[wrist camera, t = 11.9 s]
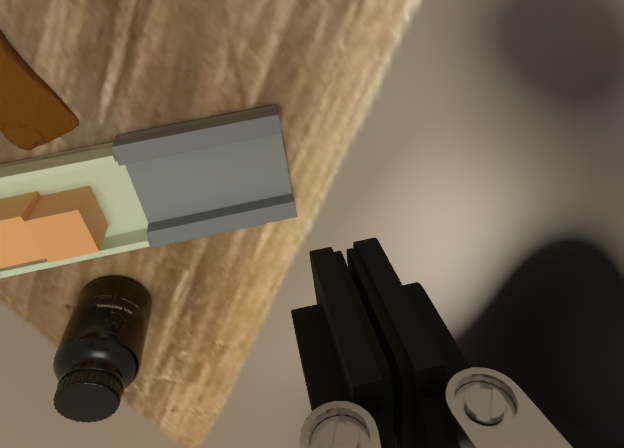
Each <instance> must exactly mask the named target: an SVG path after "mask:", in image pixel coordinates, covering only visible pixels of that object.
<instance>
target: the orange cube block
mask: <svg viewBox="0 0 624 448" xmlns="http://www.w3.org/2000/svg"><path fill="white" fill-rule="evenodd" d="M39 198H40V194H39V192H38V191H36V192H31V193H26V194H21V195H17V196H12V197H7V198H2V199H0V268H5V267H9V266H14V265H18V264H23V263H27V262H32V261H36V260H41V259H45V256H44V254H43V253H42V251H41V249H40V248H39V246H38V244H37V243H36V241H35V239H34V238H33V236H32V234H31V233H30V231H29V229H28V228H27V226H26V224H25V223H24V220H25V219H26V217H27V216H28V214H29V213H30V211H31V210H32V208H33V207H34V205H35V204H36V202H37V201H38V199H39Z"/></svg>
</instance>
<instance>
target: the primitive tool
mask: <svg viewBox="0 0 624 448" xmlns="http://www.w3.org/2000/svg"><path fill="white" fill-rule="evenodd" d="M78 125H79V121H78V119H77V118H76V117H75V115H74V114H73V113H72V111H71V110H70V109H69V108H68V107H67V106H66V105H65V103H64V102H63V101H62V99H61V98H60V97H59V96H58V95H57V94H56V93H55V92H54V91H53V90H52V89H51V88H50V87H49V86H48V85H47V84H46V83H45V82H44V81H43V80H42V79H41V78H40V77H39V76H38V75H37V74H36V73H35V72H34V71H33V70H32V69H31V68H30V67H29V66H28V65H27V64H26V63H25V62H24V61H23V60H22V59H21V58H20V56H19V55H18V54H17V53H16V52H15V50H14V49H13V48H12V47H11V46H10V45H9V44H8V42H7V41H6V39H5V38H4V36H3V35H2V34H0V130H1V131H2V132H3V134H4V136H5V137H6V138H7V139H8V140H9V141H10V142H12V143H14V144H15V145H17V146H18V147H19V148H21V149H24V150H31V149H33V148H35V147H36V146H40V145H43V144H46V143H48V142H50V141H51V140H53V139H56V138H58V137H60V136H62V135H64V134H66V133H68V132H70V131H71V130H73V129H74V128H76V127H77V126H78Z"/></svg>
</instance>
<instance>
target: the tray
mask: <svg viewBox="0 0 624 448" xmlns="http://www.w3.org/2000/svg"><path fill="white" fill-rule="evenodd" d="M113 143H114V142H111V143H106V144H101V145H95V146H90V147H85V148H80V149H75V150H70V151H65V152H59V153H54V154H49V155H44V156H39V157H34V158H29V159H23V160H18V161H13V162H8V163H3V164H0V199H2V198H7V197H12V196H17V195H21V194H26V193H31V192H36V191H38V192H39V194H40V196H42V195H47V194H52V193H57V192H61V191H66V190H71V189H76V188H80V187H85V186H90V187H91V189H92V191H93V193H94V195H95V197H96V199H97V202H98V204H99V206H100V208H101V210H102V212H103V214H104V216H105V218H106V220H107V223H108V225H109V226H108V229H107V232H106V234H105V237H104V240H103V243H102V246H101V248H100V251H99V252H96V253H91V254H87V255H82V256H78V257H73V258H69V259H64V260H59V261H55V262H50V263H48V261H47V259H46V258H45V259H41V260H36V261H32V262H27V263H23V264H18V265H14V266H9V267H5V268H0V278H4V277H8V276H13V275H18V274H22V273H27V272H32V271H36V270H41V269H46V268H50V267H55V266H60V265H64V264H69V263H74V262H78V261H83V260H88V259H92V258H97V257H102V256H106V255H111V254H116V253H121V252H125V251H130V250H135V249H139V248H144V247H149V246H150V240H149V238H148V235H147V233H146V232H147V228H148V221H147V219H146V216H145V214H144V211H143V209H142V206H141V204H140V201H139V199H138V196H137V194H136V191H135V189H134V186H133V184H132V181H131V179H130V176H129V174H128V171H127V169H126V166H125V165H121V166H119V165H118V162H117V160H116V157H115V155H114V152H113V150H112V148H111V147H112V145H113Z"/></svg>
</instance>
